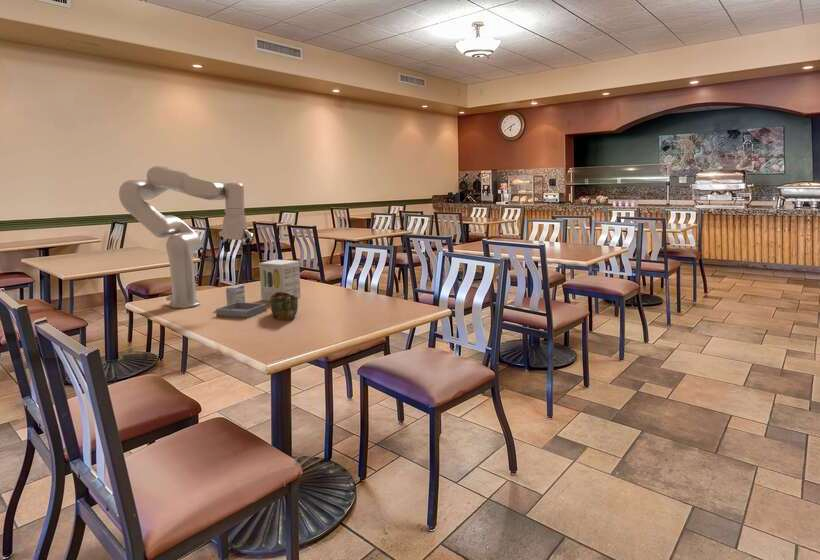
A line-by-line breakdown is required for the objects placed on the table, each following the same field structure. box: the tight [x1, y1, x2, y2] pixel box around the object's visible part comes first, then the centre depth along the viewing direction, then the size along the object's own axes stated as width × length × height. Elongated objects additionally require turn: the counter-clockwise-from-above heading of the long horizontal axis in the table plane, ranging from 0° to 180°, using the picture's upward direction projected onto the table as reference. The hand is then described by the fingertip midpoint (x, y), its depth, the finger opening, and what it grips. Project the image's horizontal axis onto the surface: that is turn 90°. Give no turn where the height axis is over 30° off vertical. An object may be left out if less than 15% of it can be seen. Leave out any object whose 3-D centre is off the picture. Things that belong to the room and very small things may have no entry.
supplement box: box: [259, 259, 301, 302], centre depth 242 cm, size 13×13×18 cm
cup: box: [269, 292, 299, 321], centre depth 208 cm, size 13×20×10 cm, turn 177°
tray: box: [215, 302, 267, 320], centre depth 214 cm, size 14×14×3 cm
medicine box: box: [225, 284, 246, 306], centre depth 228 cm, size 8×4×9 cm, turn 168°
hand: (236, 252), depth 224 cm, fingers open, 9 cm apart
